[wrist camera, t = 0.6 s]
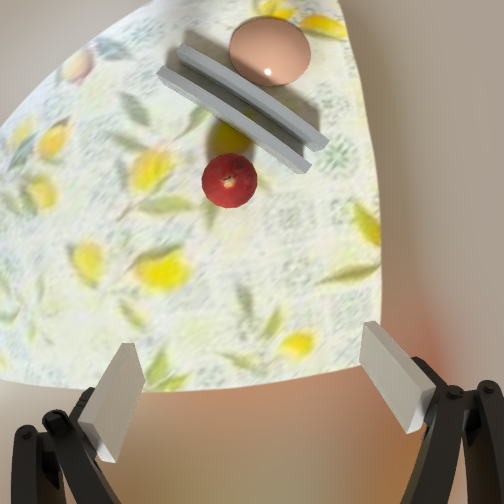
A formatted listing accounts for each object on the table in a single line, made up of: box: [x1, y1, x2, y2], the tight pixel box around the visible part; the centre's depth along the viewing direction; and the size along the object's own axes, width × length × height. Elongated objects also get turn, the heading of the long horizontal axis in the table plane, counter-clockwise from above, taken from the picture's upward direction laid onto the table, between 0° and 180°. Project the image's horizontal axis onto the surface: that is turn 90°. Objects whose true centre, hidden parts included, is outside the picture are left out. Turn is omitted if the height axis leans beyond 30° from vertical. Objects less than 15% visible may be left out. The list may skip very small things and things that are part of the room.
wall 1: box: [156, 66, 312, 174], centre depth 30 cm, size 20×1×4 cm, turn 54°
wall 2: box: [176, 43, 330, 152], centre depth 30 cm, size 20×1×4 cm, turn 54°
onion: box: [202, 153, 257, 208], centre depth 30 cm, size 6×6×8 cm
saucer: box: [229, 19, 311, 86], centre depth 30 cm, size 10×10×1 cm
